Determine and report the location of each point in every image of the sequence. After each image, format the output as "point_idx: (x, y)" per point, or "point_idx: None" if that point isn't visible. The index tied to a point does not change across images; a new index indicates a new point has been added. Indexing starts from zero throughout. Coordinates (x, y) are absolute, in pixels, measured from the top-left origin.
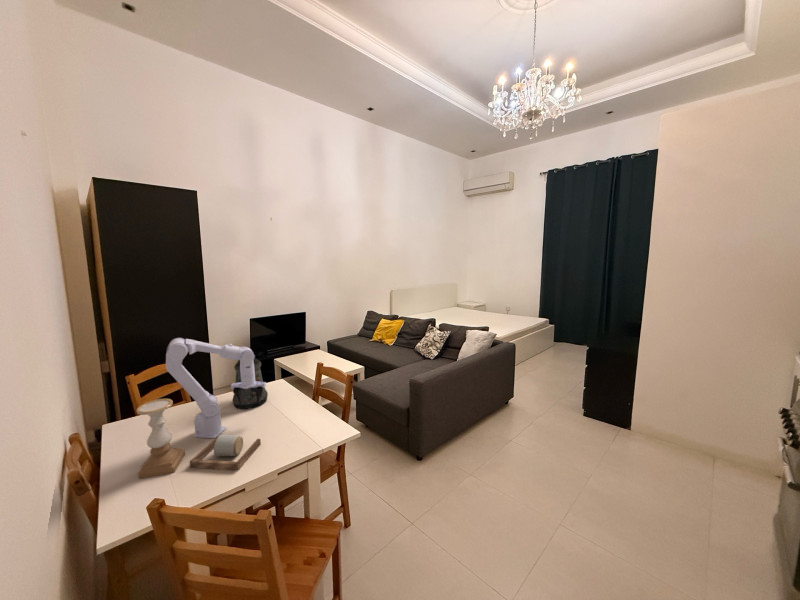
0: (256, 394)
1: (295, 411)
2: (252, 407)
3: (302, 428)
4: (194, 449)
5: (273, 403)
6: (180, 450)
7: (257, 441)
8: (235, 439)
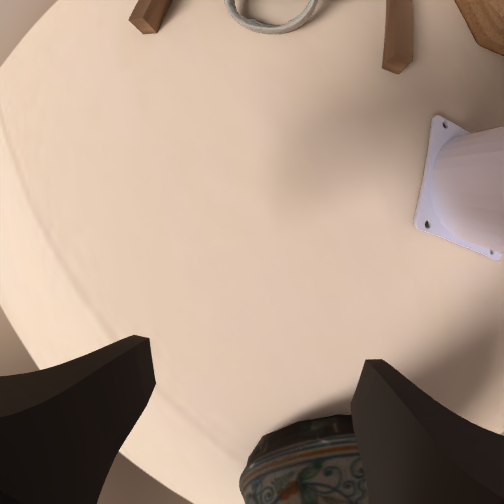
0: (42, 397)
1: (68, 336)
2: (304, 425)
3: (13, 174)
4: (466, 58)
5: (204, 439)
6: (489, 15)
7: (139, 2)
8: None
